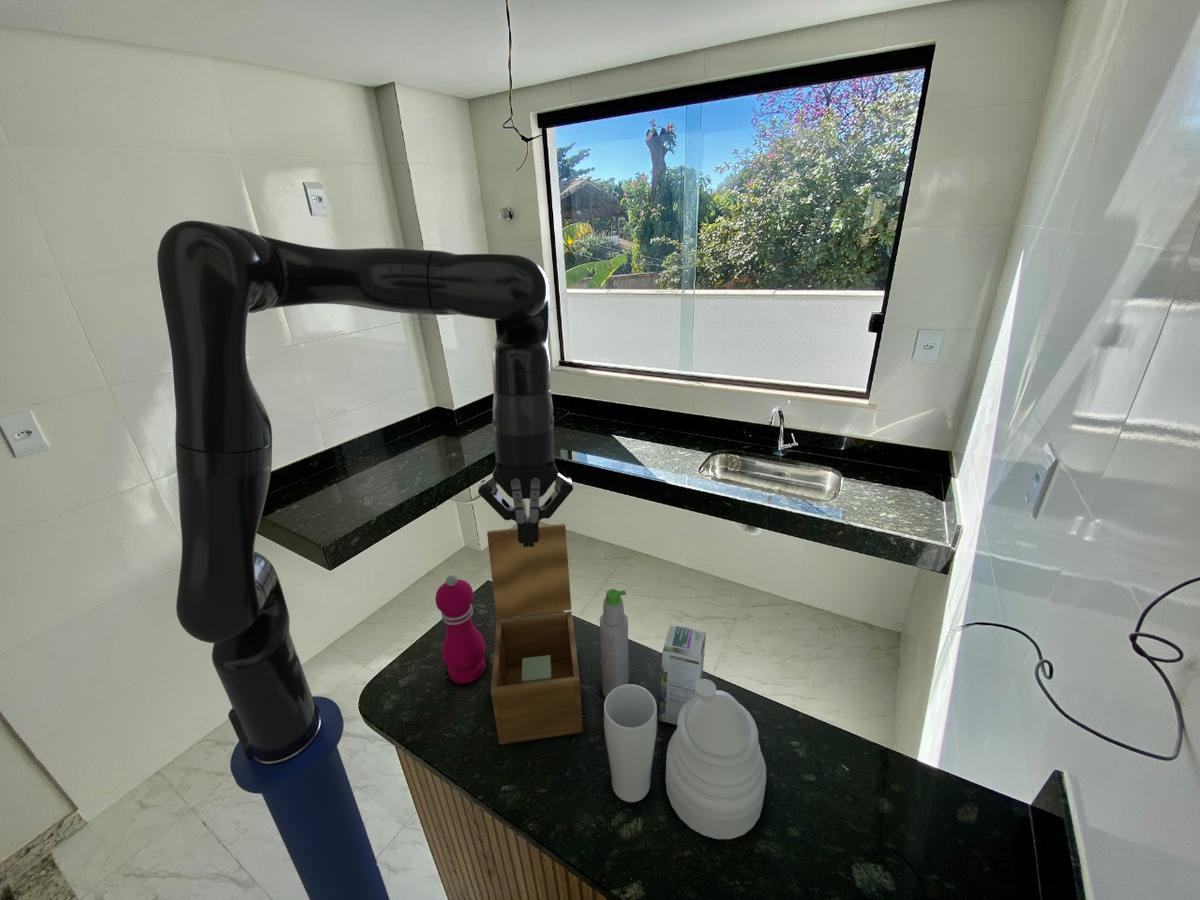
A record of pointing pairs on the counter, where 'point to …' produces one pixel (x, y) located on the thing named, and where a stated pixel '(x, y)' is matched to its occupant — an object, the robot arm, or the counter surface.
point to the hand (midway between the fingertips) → (528, 543)
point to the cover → (529, 572)
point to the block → (536, 669)
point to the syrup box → (680, 670)
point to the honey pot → (715, 765)
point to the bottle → (614, 642)
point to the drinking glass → (630, 739)
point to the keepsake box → (541, 702)
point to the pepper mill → (460, 631)
